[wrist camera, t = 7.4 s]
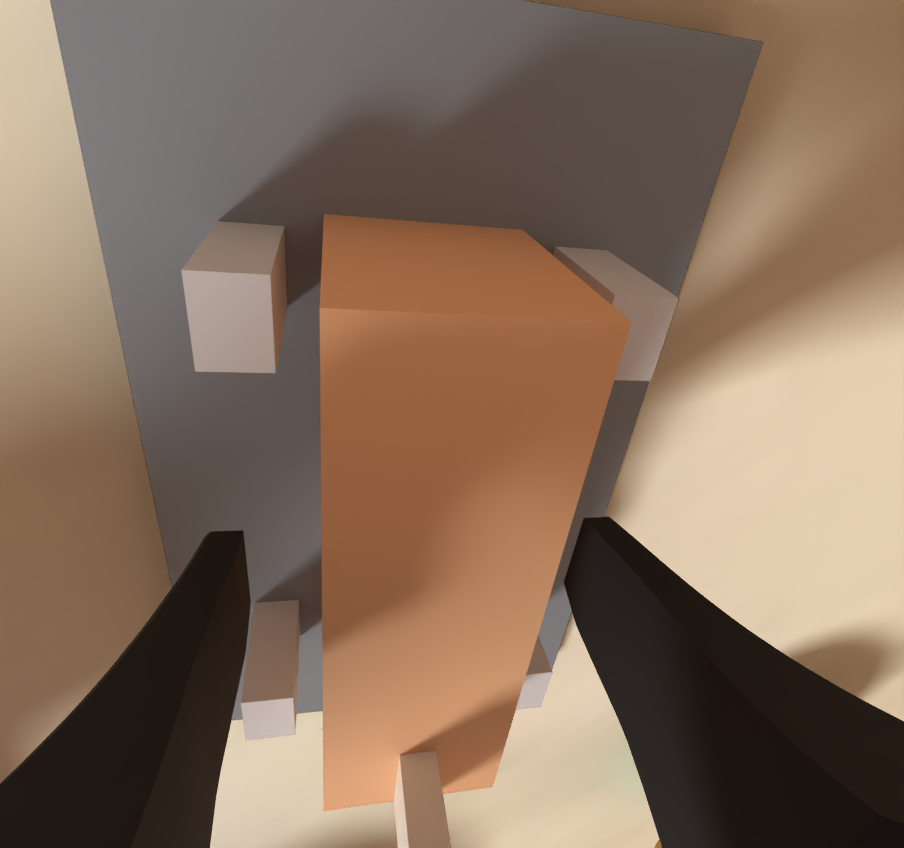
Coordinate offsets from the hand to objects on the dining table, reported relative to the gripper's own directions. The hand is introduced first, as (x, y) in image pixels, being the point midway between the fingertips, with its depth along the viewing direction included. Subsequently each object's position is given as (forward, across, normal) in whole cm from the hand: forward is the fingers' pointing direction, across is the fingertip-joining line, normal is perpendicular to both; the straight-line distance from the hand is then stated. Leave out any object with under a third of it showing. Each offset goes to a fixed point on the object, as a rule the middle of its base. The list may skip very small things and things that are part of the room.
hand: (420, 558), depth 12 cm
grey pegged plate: (+4, 0, 0) cm, 4 cm away
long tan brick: (+3, 0, 0) cm, 3 cm away
